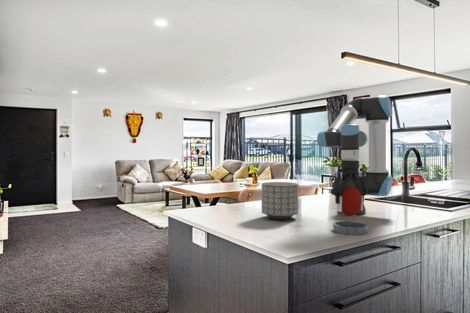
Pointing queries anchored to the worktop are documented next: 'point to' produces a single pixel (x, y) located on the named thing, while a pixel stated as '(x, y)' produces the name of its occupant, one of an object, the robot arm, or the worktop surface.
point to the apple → (351, 201)
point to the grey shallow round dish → (350, 227)
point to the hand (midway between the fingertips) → (349, 210)
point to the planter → (280, 199)
